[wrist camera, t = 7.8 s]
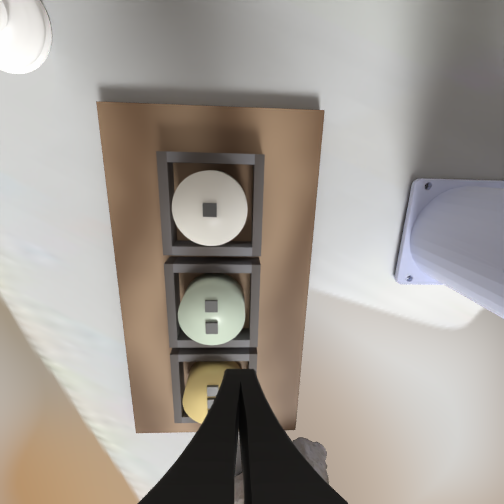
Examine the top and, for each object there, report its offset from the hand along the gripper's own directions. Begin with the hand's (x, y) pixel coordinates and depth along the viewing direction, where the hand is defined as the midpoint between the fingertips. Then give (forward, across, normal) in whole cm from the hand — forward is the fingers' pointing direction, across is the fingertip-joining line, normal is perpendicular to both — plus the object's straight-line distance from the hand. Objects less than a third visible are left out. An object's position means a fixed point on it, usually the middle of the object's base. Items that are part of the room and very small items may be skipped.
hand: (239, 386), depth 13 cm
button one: (+8, +2, -7) cm, 11 cm away
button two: (+8, +2, 0) cm, 8 cm away
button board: (+10, +2, 0) cm, 10 cm away
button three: (+8, +2, +7) cm, 11 cm away
